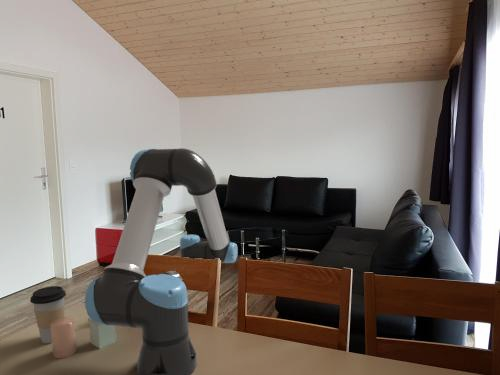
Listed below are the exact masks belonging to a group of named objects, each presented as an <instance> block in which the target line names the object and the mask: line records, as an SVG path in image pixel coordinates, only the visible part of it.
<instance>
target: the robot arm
mask: <svg viewBox="0 0 500 375" xmlns="http://www.w3.org/2000/svg"><path fill="white" fill-rule="evenodd" d="M129 170H130V171H129V176H130V179H131V182H132V185H133V188H134V189H135V193H134V196H133V199H132V201H131V204H130V207H129V210H128V213H127V215H126V218H125V222H124V226H123V229H122V232H121V234H120V239H119V242H118V245H117V246H116V247H117V248H116V250H115V254H114V256H113V260H112V263H111V264H109V265H107V266H106V267H104V269H103V272H102V273H101V274H102V275H101V276H98V277H96V278H94V279H93V280H92V281H91V282H90V283H89V284H88V285H87V289H86V291H85V294H84V307H85V310H86V314H87V316H88V318H90V319H91V320H93V321H94V322H97V323H102V324H105V325H115V326H118V327H127V328H128V327H129V328H136V329H141V335H142V337H141V338H142V344H141V346H140V350H139V354H138V358H137V361H136V373H137V375H191V374H192V373H193V372H194V371H195V369H196V367H197V360H198V359H197V352H196V350H195V346H194V344H193V342H192V340H191V337H190V334H189V333H190V332H189V331H190V330H189V309H188V308H189V304H188V302H189V297H188V292H187V287H186V285H185V283H184V282H183V281H182V280H183V279H182V277H181V276H180V274H179V273H178V272H176V271H172V270H169V271H166V272H163V273H159V274H150V275H146V273H145V271H144V269H145V265H146V262H147V258H148V256H149V251H150V248H151V245H152V241H153V237H154V233H155V230H156V226H157V223H158V220H159V215H160V212H161V209H162V204H163V201H164V198H166V197H168V196H169V195H171V191H172V188H173V187H174V186H179V187H180V186H183V187H184V188H186V190H187V193H188V194H189V195H190V196H192V198H193V201H194V204H195V207H196V210H197V214H198V216H199V220H200V223H201V225H202V229H203V232H204V235H205V238H206V241H204V240H203V241H202V240H201V238H200V236H199V235H197V234H185V235H183V236H181V237H180V239H179V252H180V258H181V257H189V258H193V259H194V258H203V259H215V258H220V260H221V263H222V264H233V263H235V262H236V260H237V258H238V253H239V252H238V250H239V249H238V245H237V243H235V242H231V241H229V238H228V233H227V231H226V227H225V222H224V218H223V215H222V211H221V207H220V203H219V200H218V197H217V196H218V195H217V192H216V188H217V180H216V177H215V174H214V172H213V170H212V168H211V167H210V166H209V164H208V163H207V162H206V161H205V159H204V158H203V157H202V156H201V155H199V154H198V153H197V152H195V151H193V150H191V149H188V148H183V147H182V148H181V147H180V148H165V149H164V148H163V149H162V148H148V149H143V150H140V151H138V152H137V153H135V154H134V156H133V158H132V159H131V162H130V167H129Z"/></svg>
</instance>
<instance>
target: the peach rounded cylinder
mask: <svg viewBox="0 0 500 375" xmlns="http://www.w3.org/2000/svg"><path fill="white" fill-rule="evenodd" d="M51 336H52V343H51V345H52V356H53V358H55V359H58V360H59V359H65V358H69V357H71V356H73V355H75V354H76V353H77V351H78V346H77V333H76V322H75V318H74V317H71V316H67V317H66V316H64V318H60V319H57V320H55V321H53V322H52V323H51ZM75 352H76V353H75Z"/></svg>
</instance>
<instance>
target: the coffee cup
mask: <svg viewBox="0 0 500 375" xmlns="http://www.w3.org/2000/svg"><path fill="white" fill-rule="evenodd" d="M66 295H67V293H66V290H64V288H63V287H62V286H59V285H53V286H52V285H51V286H44V287H40V288H39V289H36V290H35V291H33V292H32V295H31V297H30V300H29V301H30V303H32V304H33V307H34V309H33V310H34V315H35V320H36V324H37V328H38V331H39V336H40V341H41V343H43V344H52V336H51V323H52V322H53V321H55V320H57V319H60V318H64V317H65V305H66V304H65V297H66Z"/></svg>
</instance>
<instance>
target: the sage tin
mask: <svg viewBox="0 0 500 375" xmlns="http://www.w3.org/2000/svg"><path fill="white" fill-rule="evenodd" d="M88 322H89V332H90V344H92V345H93V346H95V347H96V348H98V349H99V350H101V349H103V348H105V347H107V346H110V345H112V344H114V343H116V342H117V337H116V325H105V324H102V323H97V322H94V321H93V320H91V319H90V317H88Z"/></svg>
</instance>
